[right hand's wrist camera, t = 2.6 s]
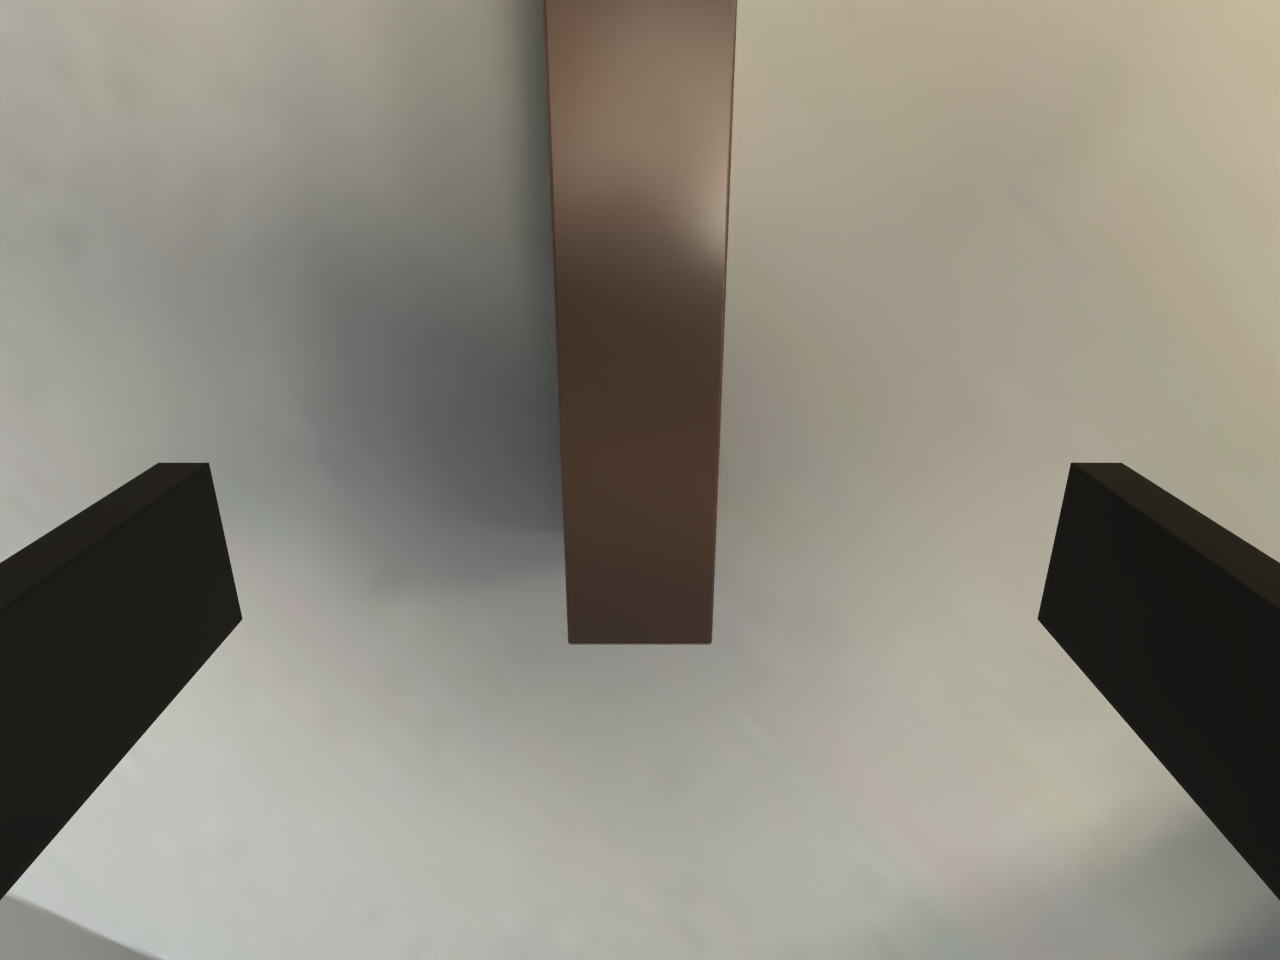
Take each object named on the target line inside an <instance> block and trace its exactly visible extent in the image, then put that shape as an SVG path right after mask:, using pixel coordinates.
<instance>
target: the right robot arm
mask: <svg viewBox="0 0 1280 960" xmlns="http://www.w3.org/2000/svg"><path fill="white" fill-rule="evenodd" d="M241 620H242V615H241V610H240V606H239V601H238V596H237V592H236V587H235V582H234V578H233V573H232V568H231V564H230V559H229V554H228V550H227V545H226V540H225V536H224V531H223V526H222V522H221V517H220V512H219V508H218V503H217V498H216V494H215V489H214V484H213V480H212V475H211V470H210V466H209V463H158V464H156V465H154V466H153V467H151V468H150V469H148V470H146V471H145V472H143V473H142V474H140V475H139V476H137V477H135V478H134V479H132V480H131V481H129V482H128V483H126V484H124V485H123V486H121V487H120V488H118V489H117V490H115V491H113V492H112V493H110V494H109V495H107V496H105V497H104V498H102V499H101V500H99V501H98V502H96V503H94V504H93V505H91V506H90V507H88V508H87V509H85V510H83V511H82V512H80V513H79V514H77V515H75V516H74V517H72V518H71V519H69V520H68V521H66V522H64V523H63V524H61V525H60V526H58V527H57V528H55V529H53V530H52V531H50V532H49V533H47V534H45V535H44V536H42V537H41V538H39V539H38V540H36V541H34V542H33V543H31V544H30V545H28V546H27V547H25V548H23V549H22V550H20V551H19V552H17V553H16V554H14V555H12V556H11V557H9V558H8V559H6V560H4V561H3V562H1V563H0V900H1V899H2V898H3V896H4V895H5V894H6V893H7V892H8V891H9V889H10V888H11V887H12V886H13V885H14V884H15V882H16V881H17V880H18V879H19V878H20V877H21V875H22V874H23V873H24V872H25V871H26V870H27V869H28V867H29V866H30V865H31V864H32V863H33V862H34V860H35V859H36V858H37V857H38V856H39V855H40V853H41V852H42V851H43V850H44V849H45V848H46V846H47V845H48V844H49V843H50V842H51V841H52V840H53V838H54V837H55V836H56V835H57V834H58V833H59V831H60V830H61V829H62V828H63V827H64V826H65V824H66V823H67V822H68V821H69V820H70V819H71V817H72V816H73V815H74V814H75V813H76V812H77V811H78V809H79V808H80V807H81V806H82V805H83V804H84V802H85V801H86V800H87V799H88V798H89V797H90V795H91V794H92V793H93V792H94V791H95V790H96V788H97V787H98V786H99V785H100V784H101V783H102V781H103V780H104V779H105V778H106V777H107V776H108V775H109V773H110V772H111V771H112V770H113V769H114V768H115V766H116V765H117V764H118V763H119V762H120V761H121V759H122V758H123V757H124V756H125V755H126V754H127V752H128V751H129V750H130V749H131V748H132V747H133V746H134V744H135V743H136V742H137V741H138V740H139V739H140V737H141V736H142V735H143V734H144V733H145V732H146V730H147V729H148V728H149V727H150V726H151V725H152V723H153V722H154V721H155V720H156V719H157V718H158V717H159V715H160V714H161V713H162V712H163V711H164V710H165V708H166V707H167V706H168V705H169V704H170V703H171V701H172V700H173V699H174V698H175V697H176V696H177V694H178V693H179V692H180V691H181V690H182V689H183V687H184V686H185V685H186V684H187V683H188V682H189V681H190V679H191V678H192V677H193V676H194V675H195V674H196V672H197V671H198V670H199V669H200V668H201V667H202V665H203V664H204V663H205V662H206V661H207V660H208V658H209V657H210V656H211V655H212V654H213V653H214V652H215V650H216V649H217V648H218V647H219V646H220V645H221V643H222V642H223V641H224V640H225V639H226V638H227V636H228V635H229V634H230V633H231V632H232V631H233V629H234V628H235V627H236V626H237V625H238V624H239V623H240V621H241ZM1038 620H1039V621H1040V623H1041V624H1042V625H1043V626H1044V627H1045V628H1046V629H1047V631H1048V632H1049V633H1050V634H1051V635H1052V636H1053V638H1054V639H1055V640H1056V641H1057V642H1058V643H1059V645H1060V646H1061V647H1062V648H1063V649H1064V650H1065V652H1066V653H1067V654H1068V655H1069V656H1070V657H1071V658H1072V660H1073V661H1074V662H1075V663H1076V664H1077V665H1078V667H1079V668H1080V669H1081V670H1082V671H1083V672H1084V674H1085V675H1086V676H1087V677H1088V678H1089V679H1090V681H1091V682H1092V683H1093V684H1094V685H1095V686H1096V687H1097V689H1098V690H1099V691H1100V692H1101V693H1102V694H1103V696H1104V697H1105V698H1106V699H1107V700H1108V701H1109V703H1110V704H1111V705H1112V706H1113V707H1114V708H1115V710H1116V711H1117V712H1118V713H1119V714H1120V715H1121V717H1122V718H1123V719H1124V720H1125V721H1126V722H1127V723H1128V725H1129V726H1130V727H1131V728H1132V729H1133V730H1134V732H1135V733H1136V734H1137V735H1138V736H1139V737H1140V739H1141V740H1142V741H1143V742H1144V743H1145V744H1146V746H1147V747H1148V748H1149V749H1150V750H1151V751H1152V752H1153V754H1154V755H1155V756H1156V757H1157V758H1158V759H1159V761H1160V762H1161V763H1162V764H1163V765H1164V766H1165V768H1166V769H1167V770H1168V771H1169V772H1170V773H1171V775H1172V776H1173V777H1174V778H1175V779H1176V780H1177V781H1178V783H1179V784H1180V785H1181V786H1182V787H1183V788H1184V790H1185V791H1186V792H1187V793H1188V794H1189V795H1190V797H1191V798H1192V799H1193V800H1194V801H1195V802H1196V804H1197V805H1198V806H1199V807H1200V808H1201V809H1202V811H1203V812H1204V813H1205V814H1206V815H1207V816H1208V817H1209V819H1210V820H1211V821H1212V822H1213V823H1214V824H1215V826H1216V827H1217V828H1218V829H1219V830H1220V831H1221V833H1222V834H1223V835H1224V836H1225V837H1226V838H1227V840H1228V841H1229V842H1230V843H1231V844H1232V845H1233V846H1234V848H1235V849H1236V850H1237V851H1238V852H1239V853H1240V855H1241V856H1242V857H1243V858H1244V859H1245V860H1246V862H1247V863H1248V864H1249V865H1250V866H1251V867H1252V869H1253V870H1254V871H1255V872H1256V873H1257V874H1258V875H1259V877H1260V878H1261V879H1262V880H1263V881H1264V882H1265V884H1266V885H1267V886H1268V887H1269V888H1270V889H1271V891H1272V892H1273V893H1274V894H1275V895H1276V896H1277V898H1278V899H1279V900H1280V563H1279V562H1277V561H1276V560H1274V559H1272V558H1271V557H1269V556H1268V555H1266V554H1264V553H1263V552H1261V551H1260V550H1258V549H1257V548H1255V547H1253V546H1252V545H1250V544H1249V543H1247V542H1246V541H1244V540H1242V539H1241V538H1239V537H1238V536H1236V535H1235V534H1233V533H1231V532H1230V531H1228V530H1227V529H1225V528H1223V527H1222V526H1220V525H1219V524H1217V523H1216V522H1214V521H1212V520H1211V519H1209V518H1208V517H1206V516H1205V515H1203V514H1201V513H1200V512H1198V511H1197V510H1195V509H1193V508H1192V507H1190V506H1189V505H1187V504H1186V503H1184V502H1182V501H1181V500H1179V499H1178V498H1176V497H1175V496H1173V495H1171V494H1170V493H1168V492H1167V491H1165V490H1163V489H1162V488H1160V487H1159V486H1157V485H1156V484H1154V483H1152V482H1151V481H1149V480H1148V479H1146V478H1145V477H1143V476H1141V475H1140V474H1138V473H1137V472H1135V471H1134V470H1132V469H1130V468H1129V467H1127V466H1126V465H1124V464H1122V463H1071V466H1070V470H1069V475H1068V480H1067V484H1066V489H1065V494H1064V498H1063V503H1062V508H1061V512H1060V517H1059V522H1058V526H1057V531H1056V536H1055V540H1054V545H1053V550H1052V554H1051V559H1050V564H1049V568H1048V573H1047V578H1046V582H1045V587H1044V592H1043V596H1042V601H1041V606H1040V610H1039V615H1038Z"/></svg>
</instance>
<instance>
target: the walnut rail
mask: <svg viewBox="0 0 1280 960" xmlns="http://www.w3.org/2000/svg"><path fill="white" fill-rule="evenodd" d="M543 12H544V38H545V63H546V89H547V115H548V140H549V166H550V191H551V217H552V242H553V268H554V293H555V319H556V344H557V370H558V396H559V421H560V447H561V472H562V498H563V523H564V549H565V574H566V600H567V625H568V642H569V644H711V642H712V626H713V601H714V575H715V550H716V524H717V499H718V473H719V448H720V422H721V397H722V371H723V346H724V320H725V295H726V269H727V244H728V218H729V193H730V168H731V142H732V117H733V91H734V66H735V40H736V15H737V0H543Z"/></svg>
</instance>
